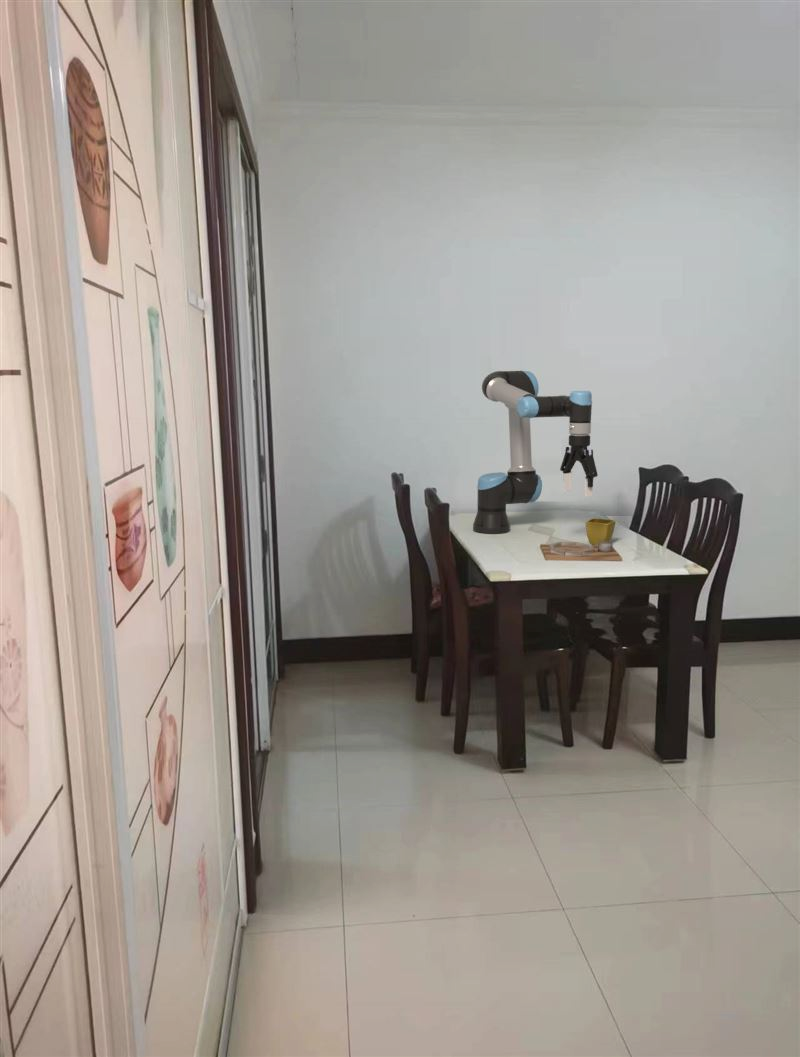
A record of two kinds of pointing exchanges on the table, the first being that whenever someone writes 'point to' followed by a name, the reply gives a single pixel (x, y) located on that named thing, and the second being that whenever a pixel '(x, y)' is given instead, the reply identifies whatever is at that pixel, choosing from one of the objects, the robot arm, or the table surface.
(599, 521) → the flower pot
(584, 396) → the robot arm
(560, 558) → the carrier board
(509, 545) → the table surface
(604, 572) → the table surface
